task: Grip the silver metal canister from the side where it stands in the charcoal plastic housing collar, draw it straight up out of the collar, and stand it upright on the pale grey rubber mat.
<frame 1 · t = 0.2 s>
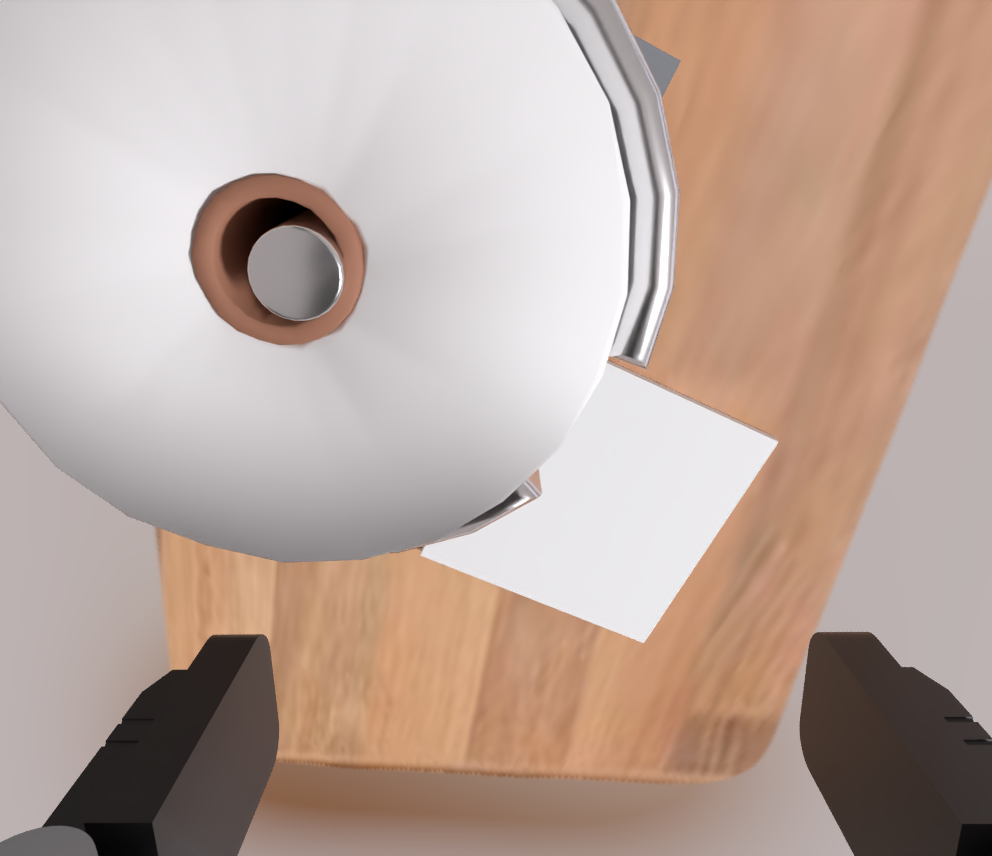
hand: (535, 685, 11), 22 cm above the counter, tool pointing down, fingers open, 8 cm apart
rubber mat: (592, 494, 35), on the counter
housing collar: (450, 145, 29), on the counter
silver metal canister: (451, 145, 29), resting in housing collar
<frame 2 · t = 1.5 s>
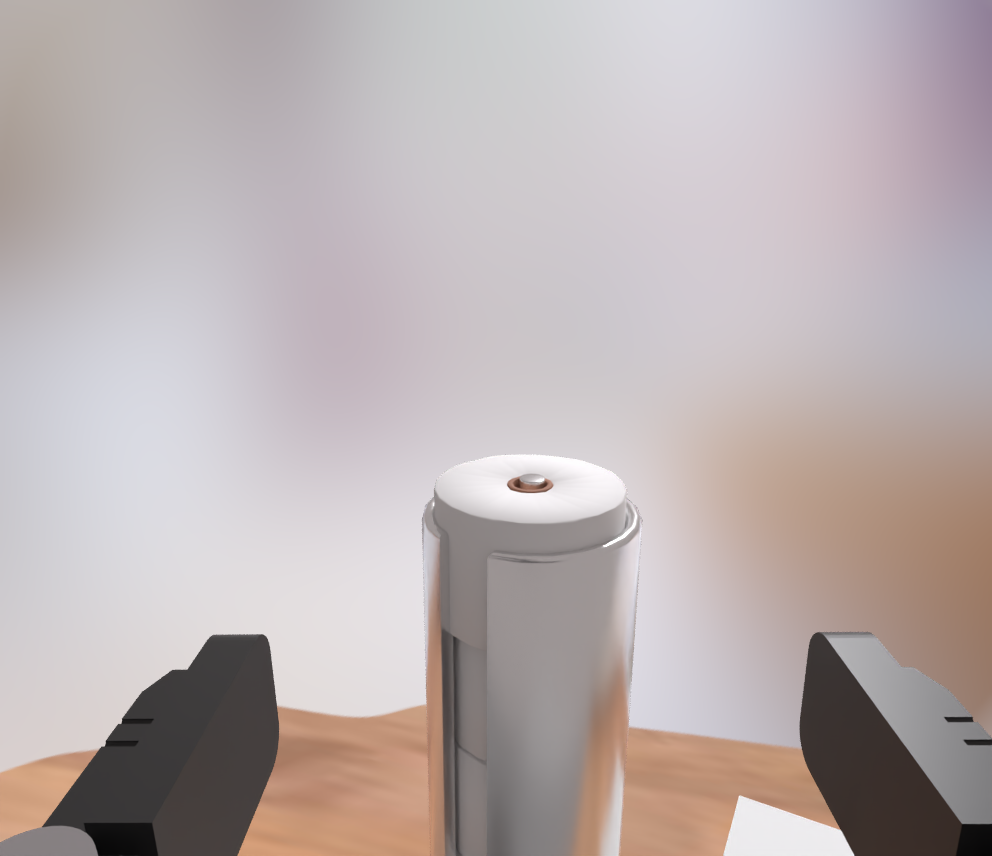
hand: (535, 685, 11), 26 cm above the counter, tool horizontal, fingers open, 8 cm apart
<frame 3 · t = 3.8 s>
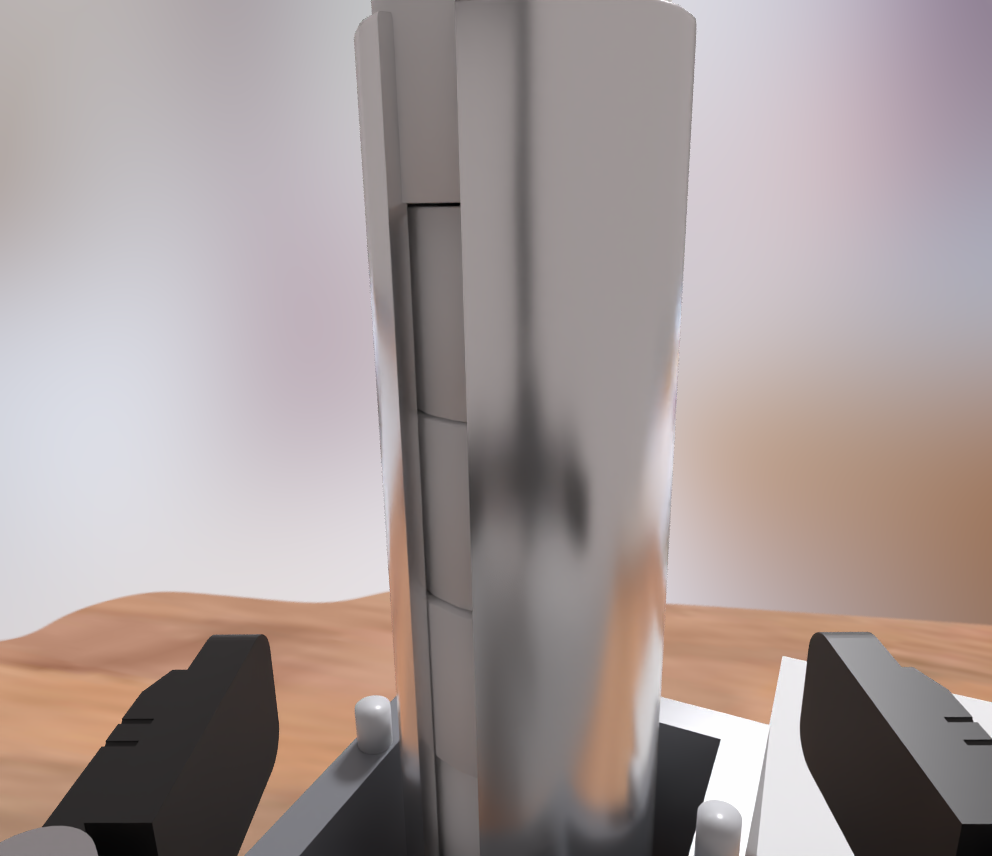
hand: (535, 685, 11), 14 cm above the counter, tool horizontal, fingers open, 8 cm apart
rubber mat: (940, 797, 27), on the counter
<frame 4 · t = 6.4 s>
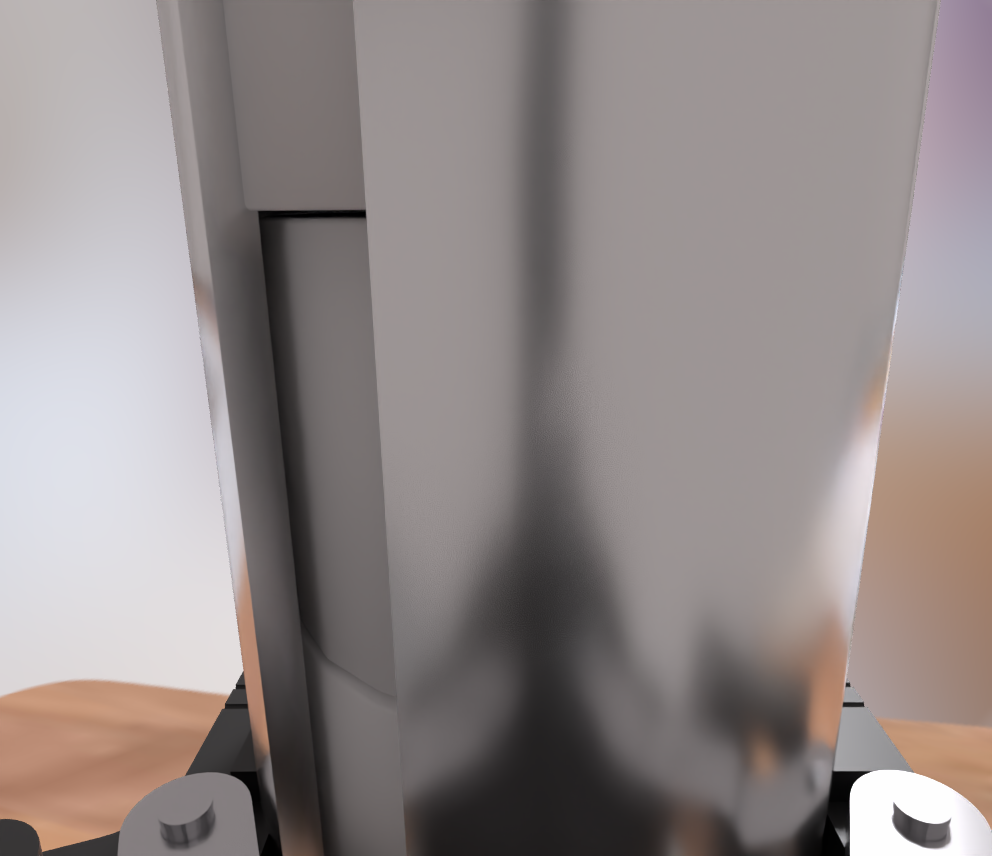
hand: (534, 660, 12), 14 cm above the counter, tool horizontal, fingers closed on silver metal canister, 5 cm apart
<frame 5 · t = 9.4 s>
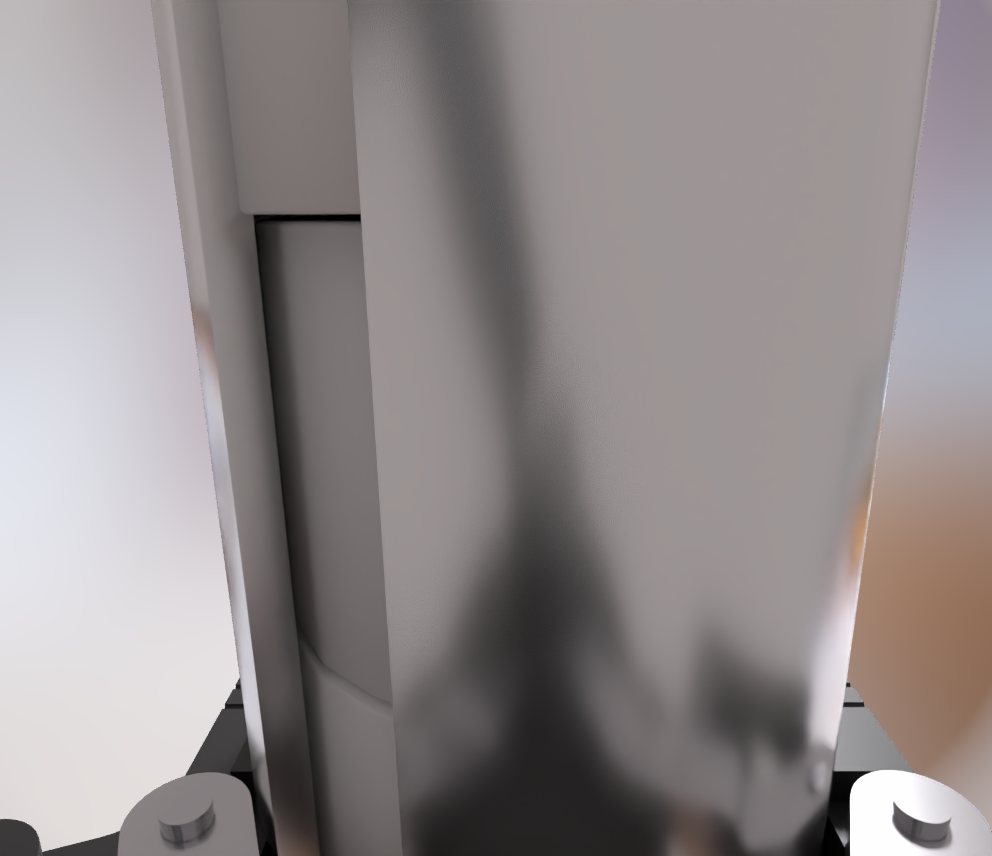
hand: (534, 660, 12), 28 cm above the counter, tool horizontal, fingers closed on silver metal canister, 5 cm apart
when the fingers open (16 cm above the counter, at t = 12.8 s): silver metal canister stays where it is, resting on rubber mat.
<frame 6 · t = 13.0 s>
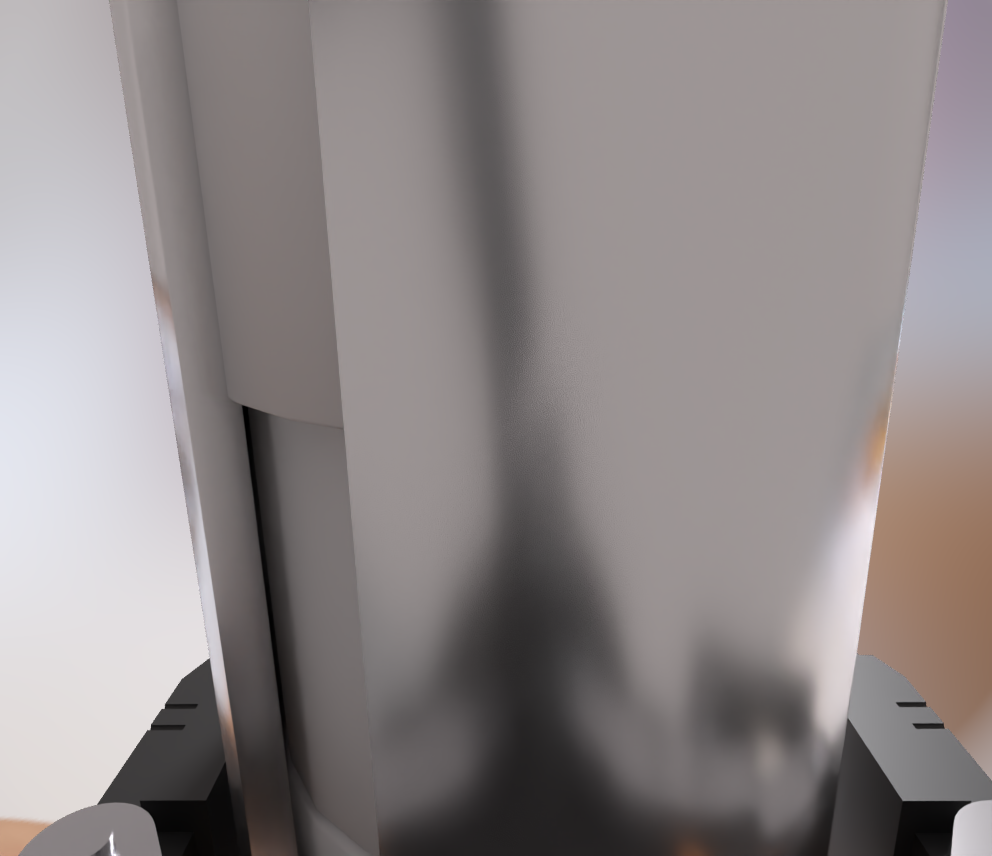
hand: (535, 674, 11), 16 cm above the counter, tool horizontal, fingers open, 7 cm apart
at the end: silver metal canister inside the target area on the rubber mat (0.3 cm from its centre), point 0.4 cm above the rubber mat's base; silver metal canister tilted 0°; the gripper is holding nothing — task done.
